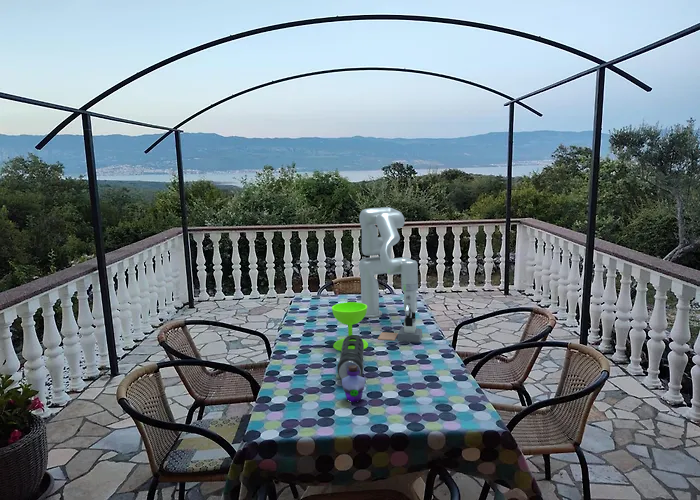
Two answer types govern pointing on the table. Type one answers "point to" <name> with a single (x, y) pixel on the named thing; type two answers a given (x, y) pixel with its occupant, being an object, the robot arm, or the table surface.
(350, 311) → the wineglass
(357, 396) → the potion bottle
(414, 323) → the plug
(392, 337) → the mat
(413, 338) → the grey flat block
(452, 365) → the table surface
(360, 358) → the muzzle brake
